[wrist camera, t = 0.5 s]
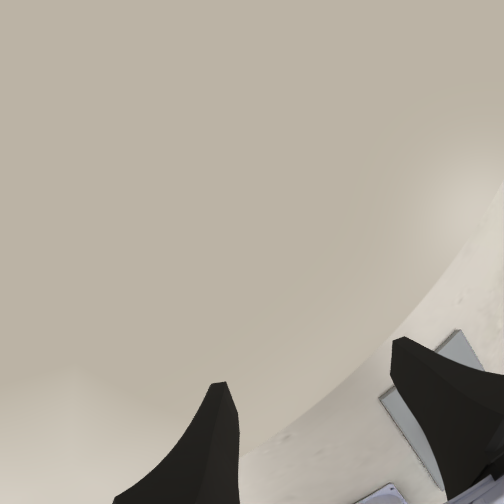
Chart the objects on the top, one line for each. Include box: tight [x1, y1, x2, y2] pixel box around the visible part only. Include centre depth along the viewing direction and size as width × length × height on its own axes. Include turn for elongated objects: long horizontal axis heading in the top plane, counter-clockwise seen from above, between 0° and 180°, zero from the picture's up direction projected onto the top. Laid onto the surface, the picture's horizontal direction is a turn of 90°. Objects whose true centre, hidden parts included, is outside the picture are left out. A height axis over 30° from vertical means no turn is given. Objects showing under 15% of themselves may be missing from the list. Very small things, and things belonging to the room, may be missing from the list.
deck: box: [379, 330, 485, 491], centre depth 27 cm, size 20×14×2 cm
